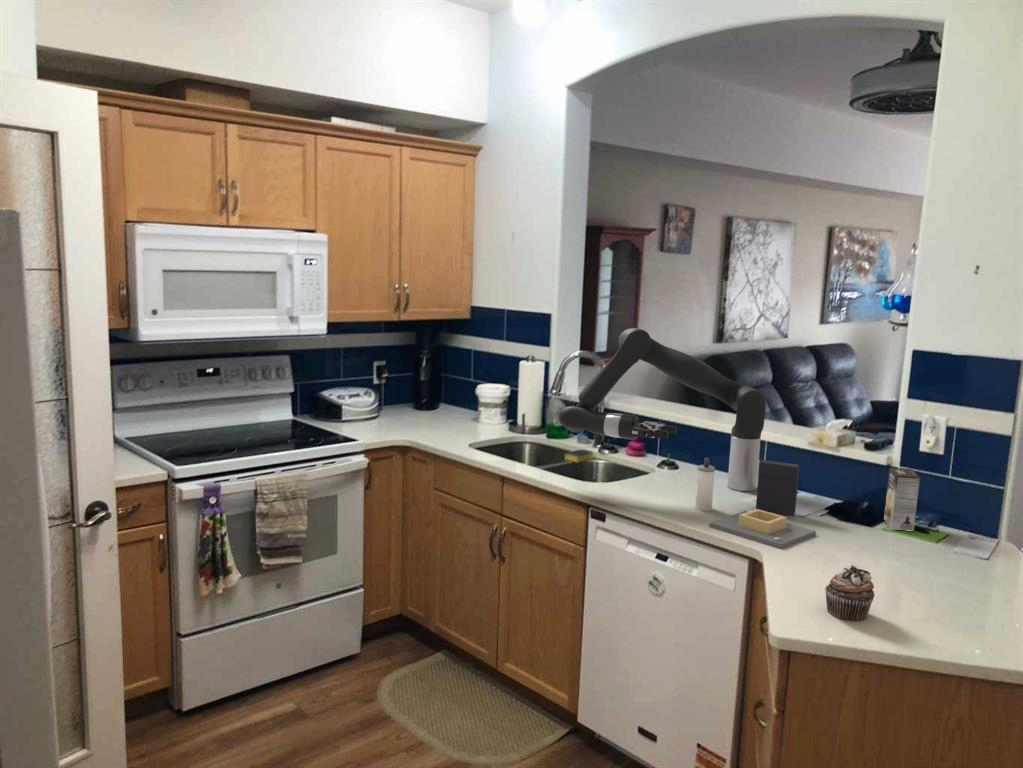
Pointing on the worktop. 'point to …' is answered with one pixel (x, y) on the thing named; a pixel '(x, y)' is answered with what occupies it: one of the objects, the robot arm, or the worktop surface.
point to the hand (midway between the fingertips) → (672, 432)
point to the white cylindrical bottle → (705, 486)
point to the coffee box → (901, 499)
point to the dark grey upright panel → (777, 487)
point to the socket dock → (763, 528)
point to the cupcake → (850, 594)
